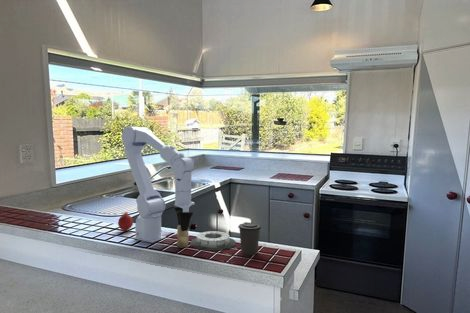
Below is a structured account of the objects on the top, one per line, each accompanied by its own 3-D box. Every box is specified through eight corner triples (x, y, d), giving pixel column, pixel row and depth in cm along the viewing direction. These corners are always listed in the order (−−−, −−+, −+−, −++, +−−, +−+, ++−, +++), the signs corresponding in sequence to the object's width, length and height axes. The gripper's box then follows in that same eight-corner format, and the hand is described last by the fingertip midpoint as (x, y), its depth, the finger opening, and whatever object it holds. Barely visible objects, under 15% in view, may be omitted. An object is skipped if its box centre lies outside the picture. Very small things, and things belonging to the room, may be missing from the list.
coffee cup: (242, 247, 120) (242, 219, 120) (264, 250, 117) (264, 222, 117) (234, 254, 113) (234, 225, 112) (257, 257, 110) (257, 227, 109)
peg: (174, 245, 120) (175, 226, 120) (181, 242, 124) (181, 224, 123) (183, 247, 118) (184, 228, 118) (190, 244, 122) (190, 225, 122)
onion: (128, 233, 134) (128, 214, 134) (115, 232, 135) (115, 213, 135) (135, 230, 140) (135, 211, 140) (122, 229, 141) (122, 210, 141)
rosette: (180, 245, 121) (180, 237, 121) (206, 234, 136) (206, 227, 136) (220, 253, 113) (221, 245, 113) (243, 240, 128) (244, 233, 128)
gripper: (197, 193, 114) (197, 232, 115) (191, 187, 128) (191, 222, 129) (177, 194, 112) (176, 233, 113) (172, 188, 126) (172, 223, 127)
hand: (183, 227), depth 121 cm, fingers open, 7 cm apart
